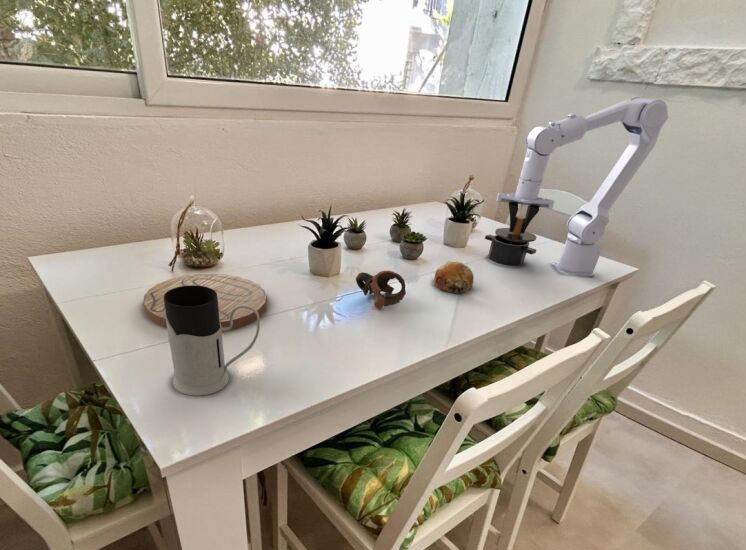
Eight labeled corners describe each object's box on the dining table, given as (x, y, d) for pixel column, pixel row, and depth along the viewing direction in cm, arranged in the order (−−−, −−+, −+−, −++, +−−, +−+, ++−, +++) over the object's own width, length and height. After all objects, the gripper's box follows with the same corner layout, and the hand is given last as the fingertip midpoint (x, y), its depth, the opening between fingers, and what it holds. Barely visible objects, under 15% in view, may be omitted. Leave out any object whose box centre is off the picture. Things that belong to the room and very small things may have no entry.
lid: (507, 229, 135) (513, 210, 132) (542, 240, 129) (549, 220, 126) (486, 235, 128) (491, 214, 125) (522, 246, 122) (528, 225, 119)
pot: (492, 250, 146) (497, 230, 142) (537, 266, 137) (544, 245, 133) (473, 256, 140) (478, 235, 136) (519, 273, 131) (526, 251, 127)
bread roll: (470, 299, 121) (479, 269, 120) (466, 296, 112) (476, 263, 110) (434, 290, 124) (443, 261, 123) (427, 286, 115) (436, 254, 113)
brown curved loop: (403, 296, 112) (413, 275, 104) (391, 326, 107) (402, 306, 100) (357, 277, 111) (365, 254, 104) (344, 306, 107) (351, 284, 100)
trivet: (225, 343, 86) (224, 334, 85) (116, 314, 92) (114, 305, 91) (286, 295, 106) (286, 287, 104) (193, 273, 112) (192, 266, 110)
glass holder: (179, 365, 79) (166, 282, 70) (263, 366, 81) (260, 286, 72) (167, 395, 72) (151, 307, 63) (260, 396, 74) (256, 311, 65)
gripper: (503, 178, 118) (490, 232, 126) (561, 186, 116) (544, 239, 123) (502, 173, 124) (489, 225, 131) (558, 180, 121) (541, 232, 129)
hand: (516, 231), depth 128 cm, fingers closed on lid, 2 cm apart
